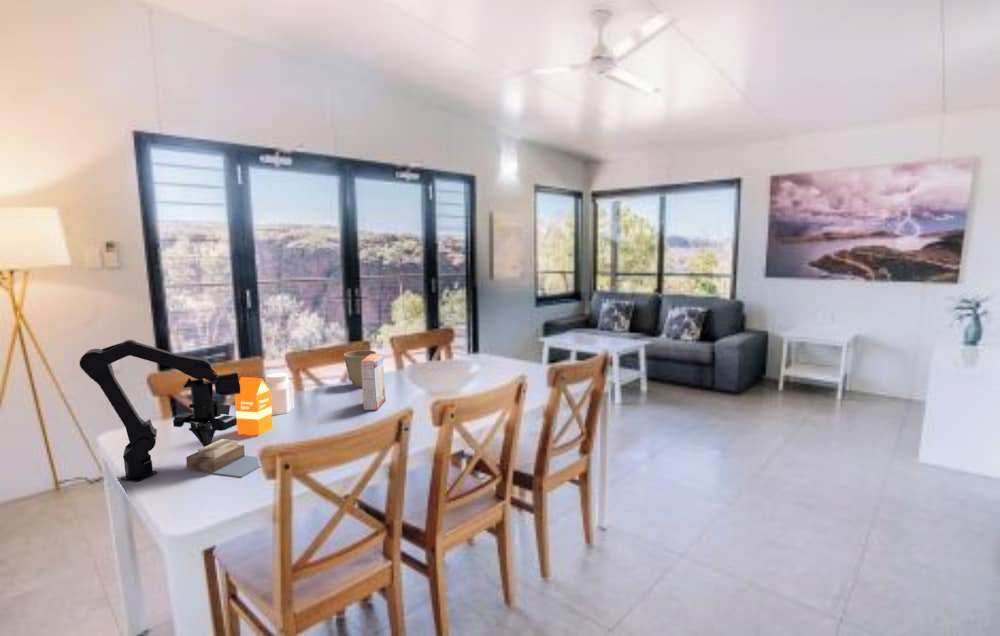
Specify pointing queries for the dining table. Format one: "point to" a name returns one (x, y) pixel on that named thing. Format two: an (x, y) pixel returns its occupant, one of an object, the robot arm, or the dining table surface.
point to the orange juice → (253, 407)
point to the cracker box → (373, 381)
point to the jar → (280, 393)
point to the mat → (240, 467)
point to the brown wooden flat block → (214, 460)
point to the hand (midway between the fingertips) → (207, 448)
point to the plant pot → (356, 365)
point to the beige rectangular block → (217, 448)
